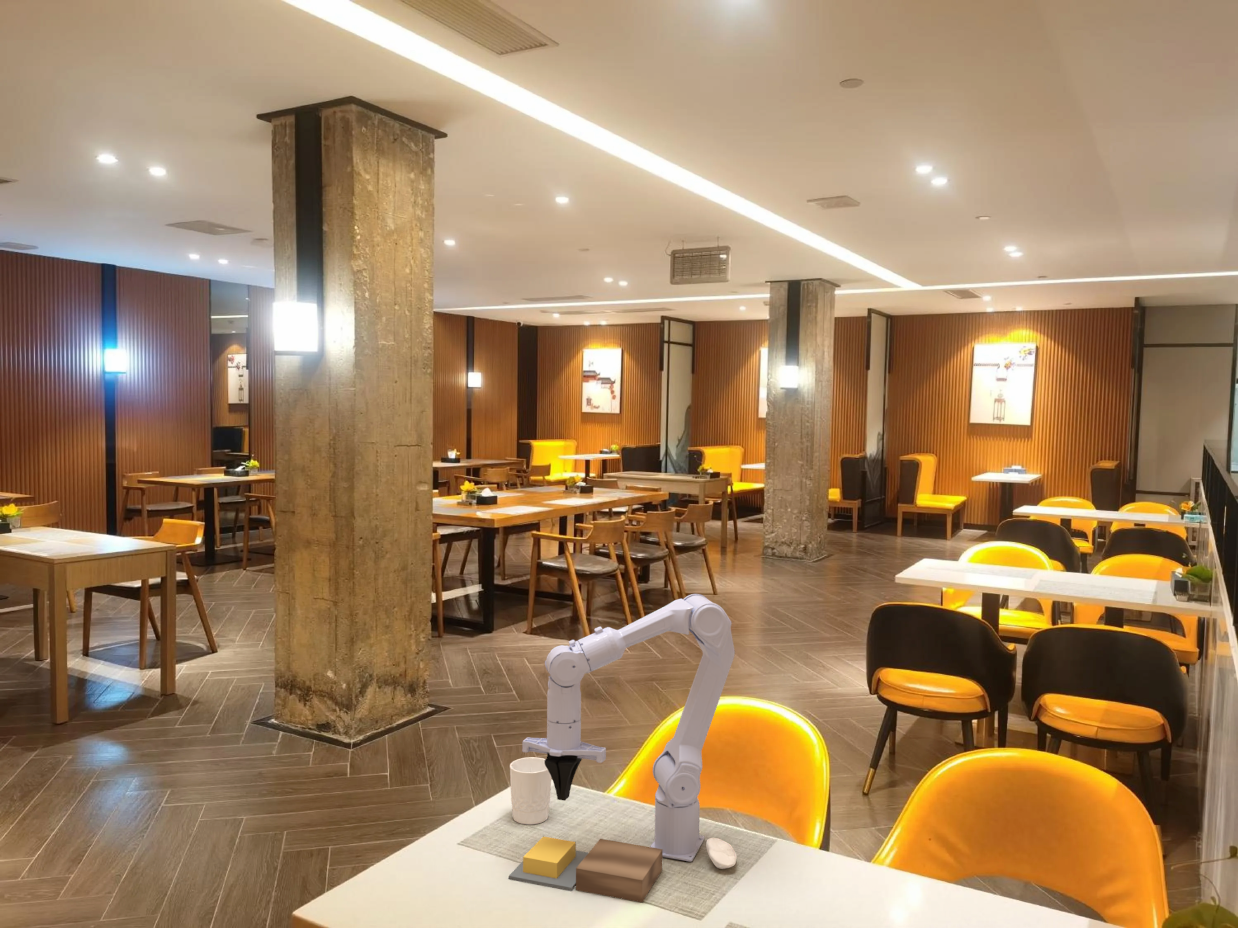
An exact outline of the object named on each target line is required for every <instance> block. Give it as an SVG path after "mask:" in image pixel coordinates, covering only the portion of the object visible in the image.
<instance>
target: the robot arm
mask: <svg viewBox="0 0 1238 928" xmlns="http://www.w3.org/2000/svg"><path fill="white" fill-rule="evenodd" d="M731 628H732V620H731V619H730V618H729V616H728V614H727V613H726V611H725V610H724V608H723V607H721V605H719V604H717V603H715V602H713V601H711V600H710V599H708V598H707V597H706V596H705V595H703V594H701V593H692V594H688V595H687V596H686V597H685V596H684V598H678V599H675V600H673V601H671V602H670V603H668V604H666V605H664V606H663V607H661V608H659V609H657V610H655V611H653V612H650V613H649V614H646V615H645V616H642V617H641V618H639V619H637V620H635V621H633V622H631V623H629V624H628V625H627V624H626V625H625V626H623V627H621V628H619V629H615V628H612V627H610V626H606V627H604V628H602V626H598V627H595V628H594V632H593V633H591V634H589V635H587V636H584V637H582V638H580V639H578V640H575V639H571V640H569V641H568V645H563V644H561V645H557V646H555V647H553V648H552V649H551V650H550V652H549V653H548V654H547V656H546V658H545V659H546V660H544V665H545V669H546V671H547V673H548V674H549V675H548V680H547V688H548V689H547V692H546V693H547V694H546V696H547V697H546V699H547V702H546V703H547V704H546V708H547V709H546V737H526V738H525V739H524V740H522V744H521V745H522V752H523V753H529V752H533V753H539V754H545V755H547V756H546V758H544V759H545V766H546V767H547V769H548V771H549V773H550V775H551V781H552V782H553V785H554V789H555V794H556V800H557V801H566V800H567V799H568V798H569V797H570V793H571V789H572V784H573V780H574V778H575V774H576V772H577V770H578V768H579V765H580V764H581V762H582V760H591V761H595V762H596V763H600V764H602V763H603V762H605V760H606V759H607V748H606V747H602V746H598V745H595V744H591V743H588V742H585V741H581V739H582V736H581V735H582V734H581V733H582V691H581V681H582V679H583V678H584V677H585V675H586V674H591V672H594V671H596V670H599V669H600V668H603V667H605V666H607V665H609V664H611V663H613V662H615V661H619V660H620V659H622V658H623V655H624V653H625V651H626V649H627V648H629V647H632V646H634V645H635V646H636V644H641V643H642V642H645V641H647V640H649V639H652V638H655V637H657V636H660V635H662V634H664V633H666V632H672V633H677V634H681V635H687V636H689V635H690V633H691V635H693V636H694V639H695V640H696V642H697V644H698V646H699V648H700V650H701V652H702V656H701V658H700V662H699V663H698V664H699V665H698V667H697V670H696V673H695V676H694V678H693V681H692V684H691V687H690V690H689V692H688V695H687V699H686V702H685V704H684V707H683V710H682V713H681V715H680V719H679V721H678V724H677V727H676V730H675V733H674V736H673V737H672V738H671V739H669V741H667V743H666V745H665V746H664V749H663V751H662V752H661V754H659V756H658V757H656V759H655V760H654V763H653V766H652V775H653V778H654V779H655V781H656V782H657V784H658V787H657V790H656V792H655V794H654V795H655V796H654V797H655V798H654V840H653V842H652V843H651V845H650V846H649V847H652V848H658V849H663V850H662V858H665V859H666V858H667V859H672V860H679V861H683V862H684V861H686V862H692V861H693V860H694V859H695V856H696V855H697V853H698V852H699V850H700V849H701V846H702V844H703V843H704V840H705V835H701V834H700V816H701V815H700V811H701V809H700V800H699V794H700V792H701V773H702V770H703V759H702V758H703V754H702V750H703V747H704V744H705V742H706V739H707V737H708V736H707V735H708V733H709V730H710V727H711V725H712V721H713V718H714V716H715V712H716V710H717V707H718V704H719V701H720V698H721V696H722V693H723V690H724V688H725V685H726V683H727V679H728V676H729V673H730V670H731V666H732V665H733V661H734V659H735V654H736V651H735V646H734V645H735V644H734V639H733V634H732V629H731Z"/></svg>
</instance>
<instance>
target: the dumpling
mask: <svg viewBox="0 0 1238 928" xmlns="http://www.w3.org/2000/svg"><path fill="white" fill-rule="evenodd" d="M705 844H706V845H705V846H706V847H705V848H706V852H707V855H708V857H709V859H710V860H711V861H712V864H713V865H714V866H715V867H716V868H717V869H719V870H725V869H729V868H733V867H734V866H735V865H736V863H737V861H738V860H737V859H738V856H737V853H736V851H735V849H734V847H733V846H732V845H731V844H730V843H729V842H726V841H725V840H723V839H721V838H718V837H710V838H707V840H706V843H705Z"/></svg>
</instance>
